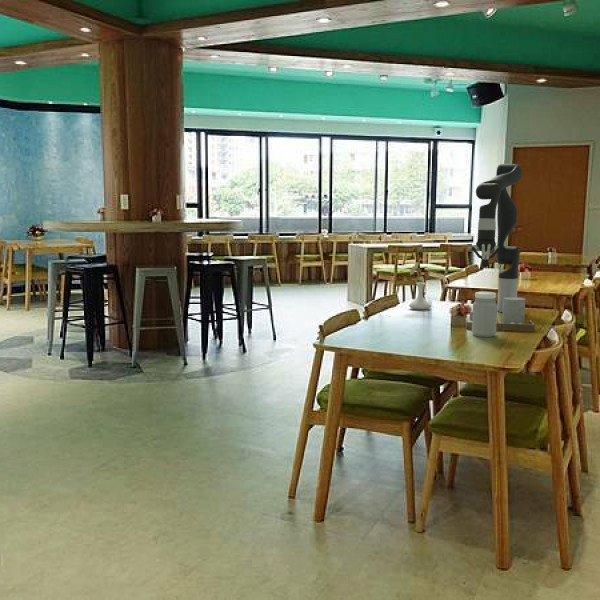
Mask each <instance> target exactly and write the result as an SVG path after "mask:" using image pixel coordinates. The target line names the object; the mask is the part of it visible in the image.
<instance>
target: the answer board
mask: <svg viewBox="0 0 600 600" xmlns="http://www.w3.org/2000/svg"><path fill="white" fill-rule="evenodd" d="M465 323H466V324H465V329H466V330H472V321H469V319H468V317H465ZM504 330H520V331H519V332H529V331H534V332H535V323H534V321H532V320H531V319H528V323H524V324H523V323H518V324H516V323H511V324H507V323H502V322H501V320H500V318H497V324H496V331H504Z"/></svg>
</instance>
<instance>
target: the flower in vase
mask: <svg viewBox="0 0 600 600" xmlns="http://www.w3.org/2000/svg"><path fill="white" fill-rule="evenodd" d="M419 265H420V263H419V262H418V261H417V262H415V264H414V265H413V266H412V267H411V269H410V270H409V276H412V275H413V274H415V272H416V273H417V275H418V276H417V277H415V279H414V282H415V284H416V285H417V291H418V293H417V294H418V295H417V297H416V298H415V299H414V300H413V301H411V302H410V303H409V305H408V306H409V308H410V309H412V310H413V309H414V310H419V311H420V310H421V311H422V310H429V309H431V307H432V305H431V304H430V302H429V301H427V300H426V298H424V296H423V295H424V294H423V293H424V291H423V290H424V286H425V285H426V282H422V281H423V280H424V276H423V275H421V276H420V275H419V271H418V268H419ZM418 281H419V282H418Z"/></svg>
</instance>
